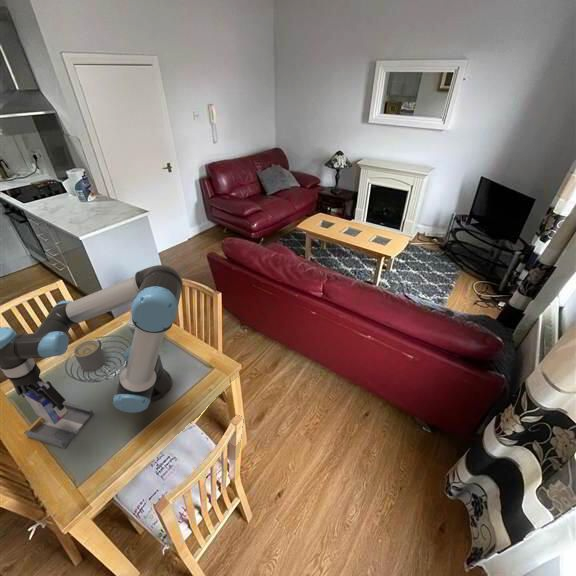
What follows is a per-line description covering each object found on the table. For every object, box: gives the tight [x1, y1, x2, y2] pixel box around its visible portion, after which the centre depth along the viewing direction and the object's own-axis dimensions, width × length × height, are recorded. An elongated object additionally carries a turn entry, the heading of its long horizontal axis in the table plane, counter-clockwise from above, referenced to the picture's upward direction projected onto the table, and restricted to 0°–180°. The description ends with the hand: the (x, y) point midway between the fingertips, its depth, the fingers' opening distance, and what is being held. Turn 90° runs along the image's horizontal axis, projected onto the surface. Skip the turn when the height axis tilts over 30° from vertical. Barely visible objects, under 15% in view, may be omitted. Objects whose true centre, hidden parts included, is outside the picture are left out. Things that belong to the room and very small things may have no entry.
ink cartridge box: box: [23, 388, 68, 424], centre depth 106 cm, size 10×6×14 cm, turn 67°
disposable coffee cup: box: [126, 315, 136, 336], centre depth 147 cm, size 11×11×15 cm
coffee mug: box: [72, 338, 107, 373], centre depth 138 cm, size 13×10×10 cm
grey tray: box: [23, 401, 95, 449], centre depth 114 cm, size 16×14×3 cm
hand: (50, 410), depth 109 cm, fingers closed on ink cartridge box, 10 cm apart
